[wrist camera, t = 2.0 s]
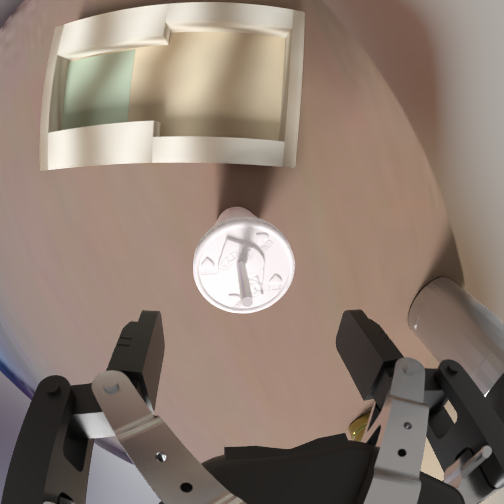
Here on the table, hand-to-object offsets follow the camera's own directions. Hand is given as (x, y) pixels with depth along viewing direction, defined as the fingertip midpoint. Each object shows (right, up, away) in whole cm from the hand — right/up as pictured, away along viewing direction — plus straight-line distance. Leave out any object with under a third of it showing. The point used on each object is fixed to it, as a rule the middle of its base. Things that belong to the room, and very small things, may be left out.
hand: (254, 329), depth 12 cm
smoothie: (-2, +6, +15) cm, 16 cm away
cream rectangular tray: (-8, +18, +9) cm, 21 cm away
